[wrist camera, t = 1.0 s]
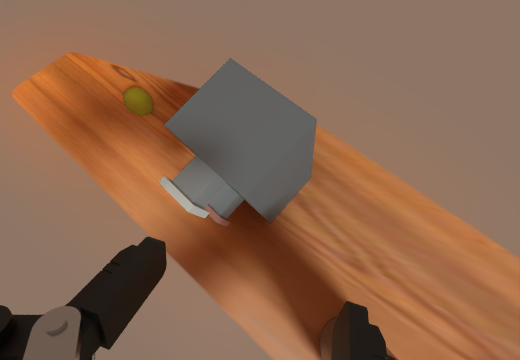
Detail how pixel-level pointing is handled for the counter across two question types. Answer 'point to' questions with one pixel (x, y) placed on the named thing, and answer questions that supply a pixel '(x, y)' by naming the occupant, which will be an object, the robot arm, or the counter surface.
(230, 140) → the grey dispenser box
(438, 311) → the counter surface
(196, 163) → the upper plunger
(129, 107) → the lemon
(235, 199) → the lower plunger
